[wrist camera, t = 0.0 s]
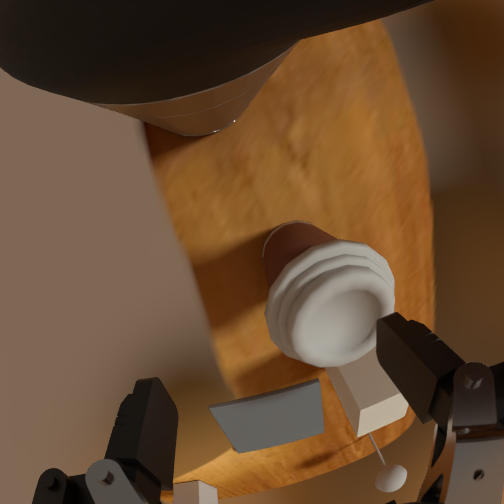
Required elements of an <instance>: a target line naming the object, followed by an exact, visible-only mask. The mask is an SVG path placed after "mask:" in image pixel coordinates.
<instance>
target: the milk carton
mask: <svg viewBox="0 0 504 504" xmlns="http://www.w3.org/2000/svg"><path fill="white" fill-rule="evenodd" d="M173 504H218V498H217V488H215V487H212V486H210V485H208V484H206V483H204V482H202V481H199V480H198V481H192V482H185V483H178V484H174V485H173Z"/></svg>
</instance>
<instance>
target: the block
mask: <svg viewBox="0 0 504 504" xmlns="http://www.w3.org/2000/svg"><path fill="white" fill-rule="evenodd" d="M324 368H325V370H326V372H327V374H328V376H329V378H330V380H331V382H332V385H333V387H334V389H335V391H336V393H337V395H338V397H339V399H340V402H341V404H342V406H343V408H344V410H345V412H346V414H347V417H348V419H349V421H350V423H351V425H352V427H353V430H354V432H355V434H356V436H357V437H359V436H362V435H364V434H367V433H369V432H372V431H374V430H376V429H378V428H381V427H383V426H385V425H387V424H389V423H392V422H394V421H396V420H398V419H400V418H402V417H404V416H405V413H406V411H407V408H408V405H409V404H408V402H407V401H406V400H405V398H404V397H403V395H402V394H401V393H400V391H399V390H398V389H397V387H396V386H395V384H394V383H393V382H392V380H391V379H390V378H389V376H388V375H387V374H386V372H385V371H384V370H383V368H382V367H381V365H380V364H379V362H378V359H377V355H376V346H375V347H374V348H373V349H372V350H370V351H369V352H367V353H366V354H364V355H363V356H362V357H360V358H359V359H357V360H355V361H352V362H350V363H347V364H344V365H341V366H338V367H324Z"/></svg>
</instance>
